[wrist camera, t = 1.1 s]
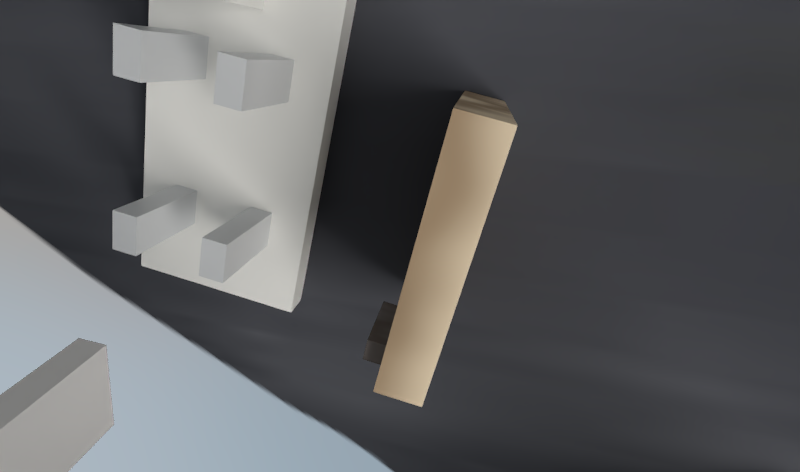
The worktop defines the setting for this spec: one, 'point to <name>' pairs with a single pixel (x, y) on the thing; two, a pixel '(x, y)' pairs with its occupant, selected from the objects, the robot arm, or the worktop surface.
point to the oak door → (442, 248)
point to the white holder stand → (233, 138)
